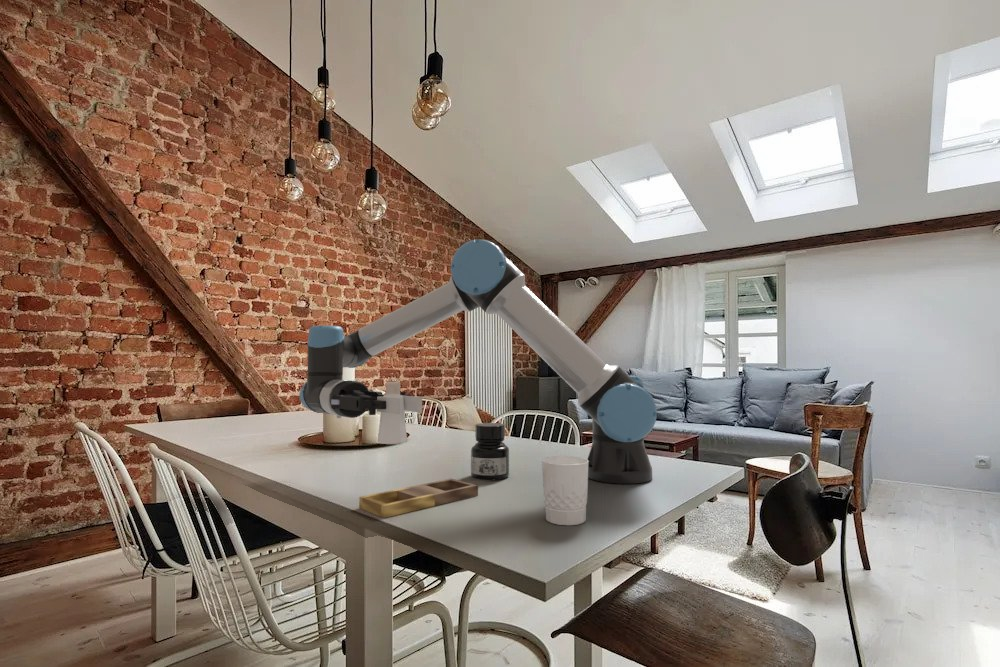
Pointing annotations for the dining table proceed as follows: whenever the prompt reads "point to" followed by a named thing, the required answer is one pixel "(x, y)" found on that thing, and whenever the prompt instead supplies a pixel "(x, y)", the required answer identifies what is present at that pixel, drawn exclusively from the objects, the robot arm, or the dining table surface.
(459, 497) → the rail
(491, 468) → the ink bottle
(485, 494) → the dining table surface
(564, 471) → the white cup
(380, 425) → the pepper shaker
